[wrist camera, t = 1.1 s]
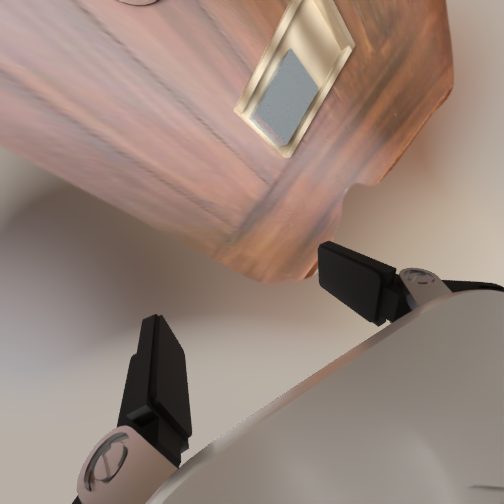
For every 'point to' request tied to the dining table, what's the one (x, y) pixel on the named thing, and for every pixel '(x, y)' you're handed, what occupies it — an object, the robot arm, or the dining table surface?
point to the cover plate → (284, 100)
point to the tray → (301, 59)
